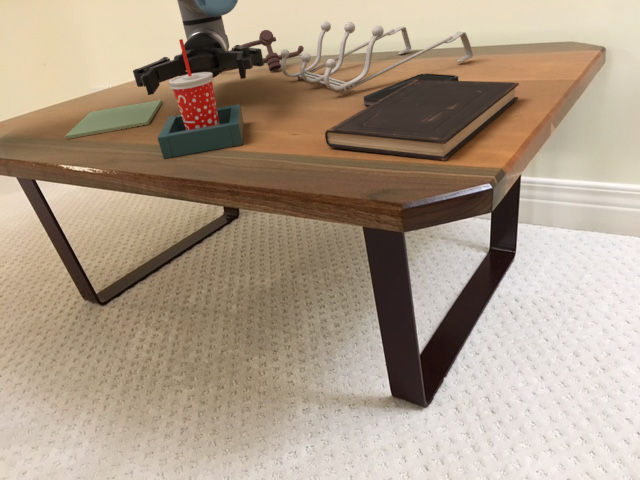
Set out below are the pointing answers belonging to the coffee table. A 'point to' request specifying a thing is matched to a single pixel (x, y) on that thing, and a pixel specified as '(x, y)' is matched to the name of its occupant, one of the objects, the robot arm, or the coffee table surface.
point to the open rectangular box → (202, 134)
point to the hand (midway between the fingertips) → (194, 77)
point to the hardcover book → (424, 118)
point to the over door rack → (377, 35)
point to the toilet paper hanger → (270, 50)
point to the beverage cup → (195, 97)
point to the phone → (387, 91)
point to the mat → (115, 119)
